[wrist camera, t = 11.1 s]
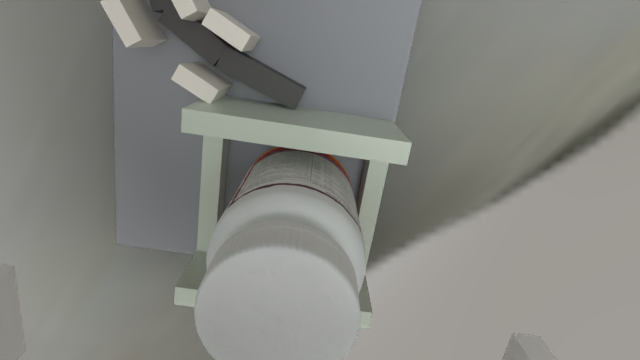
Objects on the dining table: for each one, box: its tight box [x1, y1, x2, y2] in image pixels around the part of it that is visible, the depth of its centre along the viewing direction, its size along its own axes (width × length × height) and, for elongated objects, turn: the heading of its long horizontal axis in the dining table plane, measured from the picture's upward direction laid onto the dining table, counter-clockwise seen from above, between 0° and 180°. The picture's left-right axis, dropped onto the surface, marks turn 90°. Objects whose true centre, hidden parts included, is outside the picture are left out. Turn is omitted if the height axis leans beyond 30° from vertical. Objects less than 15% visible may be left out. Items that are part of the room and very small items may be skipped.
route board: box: [100, 0, 422, 255], centre depth 20 cm, size 19×15×4 cm
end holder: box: [174, 96, 412, 329], centre depth 20 cm, size 10×10×5 cm
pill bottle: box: [194, 146, 366, 360], centre depth 17 cm, size 6×6×11 cm
